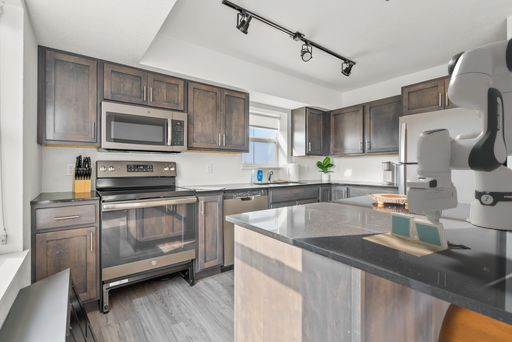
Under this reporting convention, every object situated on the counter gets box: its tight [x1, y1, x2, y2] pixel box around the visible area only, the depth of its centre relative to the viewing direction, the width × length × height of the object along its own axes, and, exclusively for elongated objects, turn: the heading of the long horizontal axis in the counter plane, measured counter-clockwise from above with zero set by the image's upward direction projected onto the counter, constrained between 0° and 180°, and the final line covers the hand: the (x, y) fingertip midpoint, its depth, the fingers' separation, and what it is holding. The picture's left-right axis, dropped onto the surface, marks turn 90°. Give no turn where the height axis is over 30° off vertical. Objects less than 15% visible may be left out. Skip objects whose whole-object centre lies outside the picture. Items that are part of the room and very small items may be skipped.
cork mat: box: [362, 231, 454, 258], centre depth 82 cm, size 18×20×1 cm
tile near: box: [413, 217, 448, 250], centre depth 77 cm, size 2×8×8 cm, turn 24°
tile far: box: [389, 211, 416, 240], centre depth 87 cm, size 2×8×8 cm, turn 24°
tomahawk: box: [447, 240, 472, 250], centre depth 84 cm, size 21×7×1 cm, turn 166°
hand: (433, 224), depth 78 cm, fingers closed
